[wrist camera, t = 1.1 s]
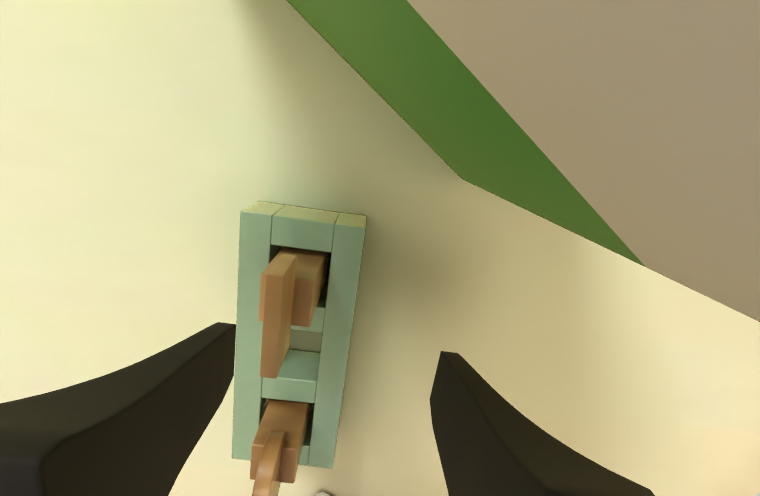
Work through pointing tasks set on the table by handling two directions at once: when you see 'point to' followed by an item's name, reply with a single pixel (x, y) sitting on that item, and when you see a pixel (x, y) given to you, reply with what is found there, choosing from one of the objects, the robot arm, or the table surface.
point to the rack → (332, 317)
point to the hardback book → (586, 116)
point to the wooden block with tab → (278, 445)
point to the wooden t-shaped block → (288, 301)
